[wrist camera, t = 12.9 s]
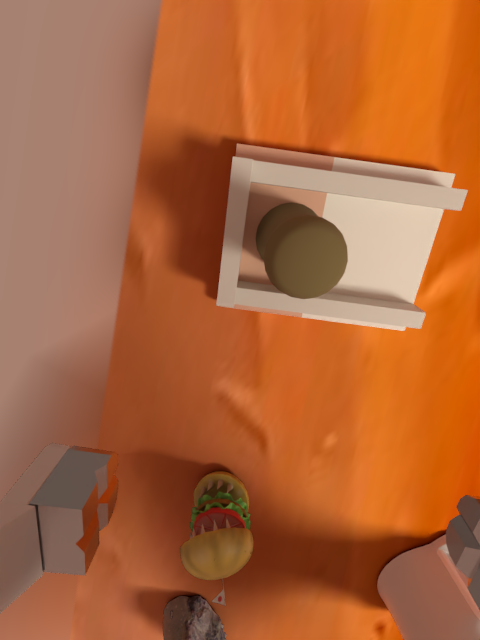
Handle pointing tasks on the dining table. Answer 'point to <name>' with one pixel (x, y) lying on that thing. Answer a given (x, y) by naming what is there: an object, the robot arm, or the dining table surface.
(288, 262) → the cork
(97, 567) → the dining table surface
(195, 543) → the hamburger
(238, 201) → the white tray
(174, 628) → the mineral rock
